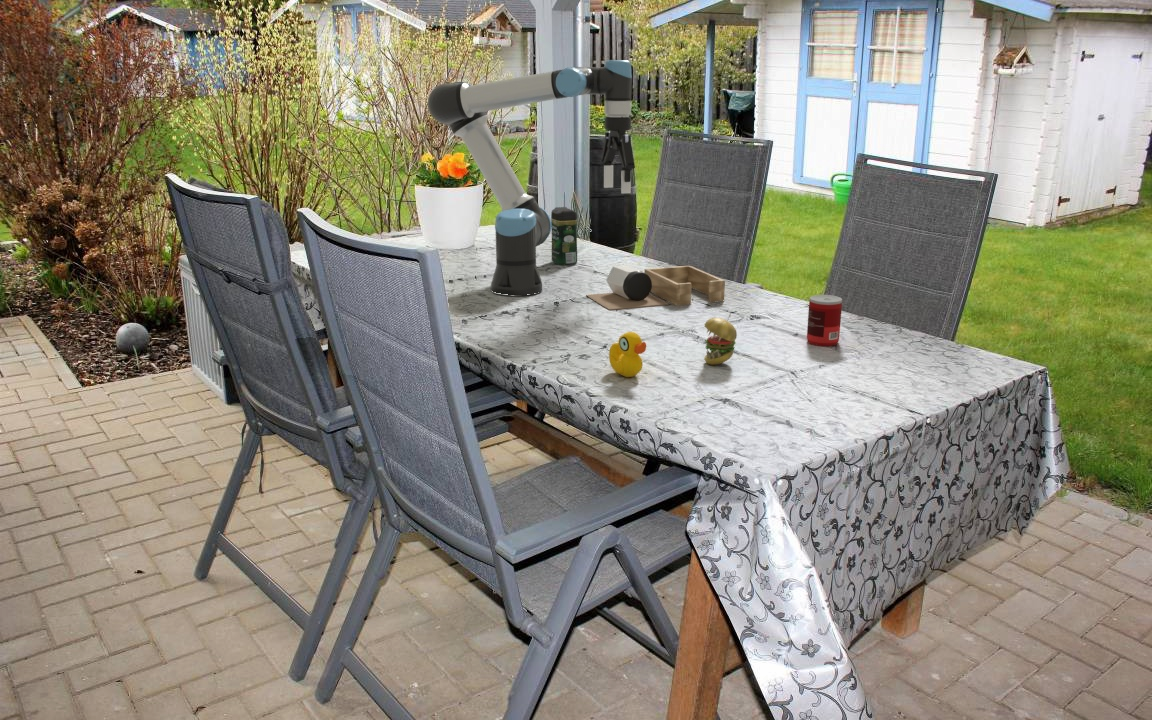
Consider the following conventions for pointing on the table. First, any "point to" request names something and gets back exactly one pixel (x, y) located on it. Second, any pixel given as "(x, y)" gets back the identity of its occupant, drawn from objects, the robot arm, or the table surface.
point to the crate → (684, 284)
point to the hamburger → (720, 340)
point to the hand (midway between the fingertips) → (617, 190)
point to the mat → (625, 301)
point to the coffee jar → (564, 236)
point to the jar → (629, 282)
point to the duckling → (627, 354)
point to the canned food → (824, 320)
